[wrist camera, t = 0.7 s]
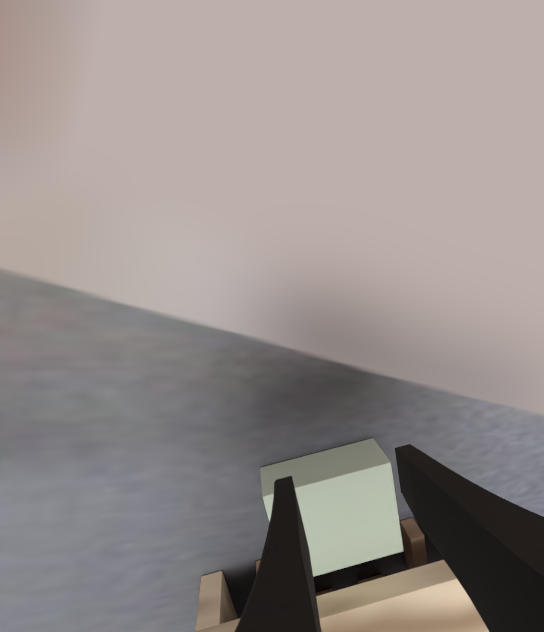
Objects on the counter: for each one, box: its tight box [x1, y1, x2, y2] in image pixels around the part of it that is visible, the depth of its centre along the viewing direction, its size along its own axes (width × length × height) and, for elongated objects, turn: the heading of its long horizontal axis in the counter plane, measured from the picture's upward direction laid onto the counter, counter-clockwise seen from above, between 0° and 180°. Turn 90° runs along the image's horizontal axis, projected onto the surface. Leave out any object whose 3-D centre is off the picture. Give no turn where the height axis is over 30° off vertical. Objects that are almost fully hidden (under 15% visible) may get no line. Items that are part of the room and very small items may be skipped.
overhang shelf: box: [195, 517, 489, 632], centre depth 22 cm, size 6×20×4 cm, turn 102°
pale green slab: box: [260, 438, 403, 577], centre depth 21 cm, size 7×8×2 cm
